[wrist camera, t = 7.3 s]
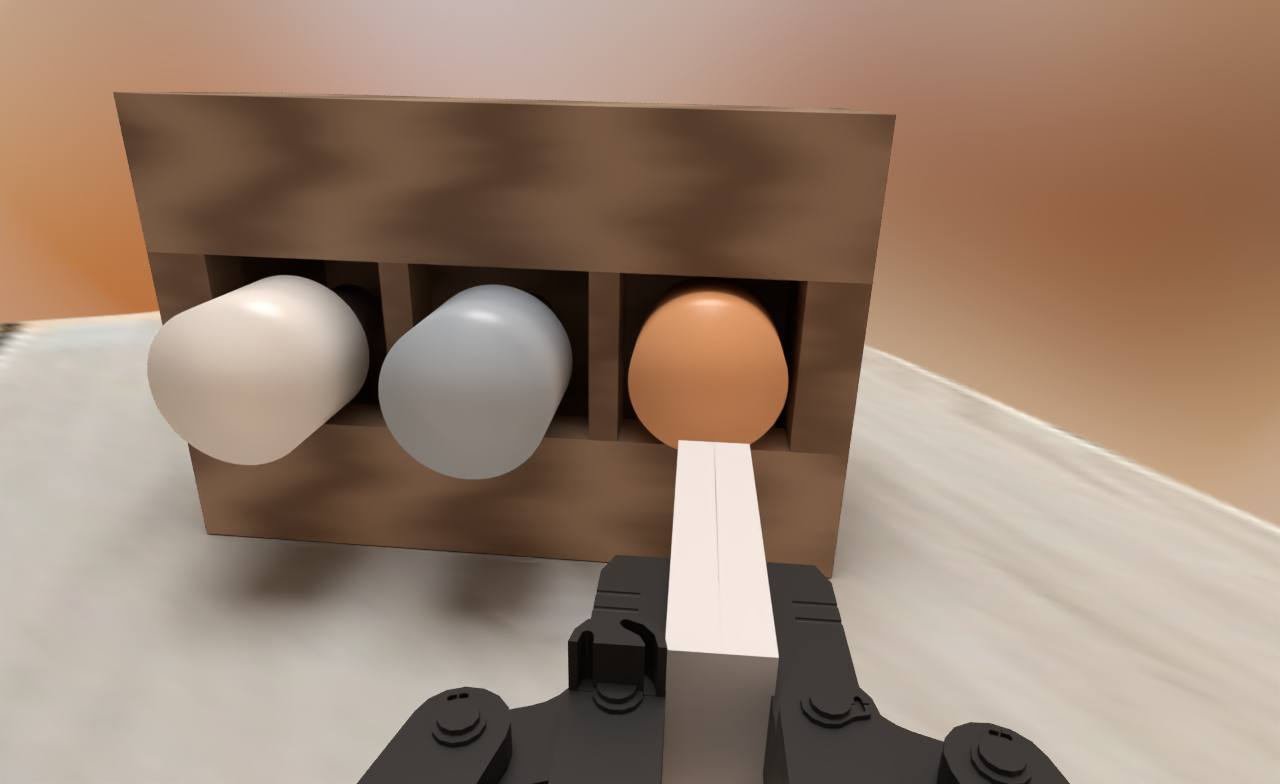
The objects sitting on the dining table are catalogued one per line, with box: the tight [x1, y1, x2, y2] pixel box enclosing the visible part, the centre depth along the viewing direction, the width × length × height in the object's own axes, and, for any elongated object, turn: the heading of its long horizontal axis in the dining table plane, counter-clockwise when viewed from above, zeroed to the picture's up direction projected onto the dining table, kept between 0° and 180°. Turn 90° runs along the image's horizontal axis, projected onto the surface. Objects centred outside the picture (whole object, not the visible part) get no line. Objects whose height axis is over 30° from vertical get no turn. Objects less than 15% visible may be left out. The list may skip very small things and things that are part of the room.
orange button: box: [628, 276, 788, 450], centre depth 28 cm, size 5×8×5 cm, turn 175°
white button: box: [147, 275, 383, 465], centre depth 26 cm, size 5×8×5 cm, turn 175°
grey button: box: [378, 285, 573, 479], centre depth 26 cm, size 5×8×5 cm, turn 175°
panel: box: [114, 92, 896, 578], centre depth 31 cm, size 24×10×16 cm, turn 85°
